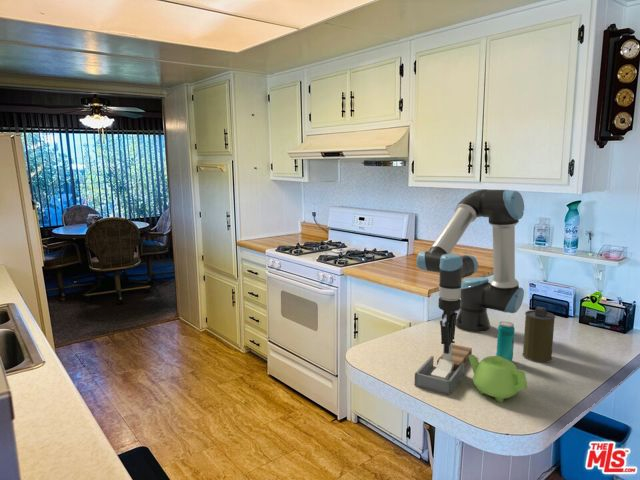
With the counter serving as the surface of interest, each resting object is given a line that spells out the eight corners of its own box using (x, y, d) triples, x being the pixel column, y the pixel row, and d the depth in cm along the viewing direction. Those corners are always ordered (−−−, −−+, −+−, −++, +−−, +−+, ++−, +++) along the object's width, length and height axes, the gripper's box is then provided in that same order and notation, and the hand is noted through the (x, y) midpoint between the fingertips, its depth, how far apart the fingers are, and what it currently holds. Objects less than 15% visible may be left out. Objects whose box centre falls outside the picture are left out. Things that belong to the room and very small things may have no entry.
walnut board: (451, 351, 180) (451, 344, 179) (471, 355, 175) (471, 348, 175) (436, 367, 165) (437, 360, 164) (458, 372, 160) (458, 365, 160)
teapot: (457, 387, 150) (458, 352, 148) (479, 376, 158) (481, 342, 156) (513, 412, 134) (516, 373, 132) (535, 398, 142) (538, 361, 140)
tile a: (440, 362, 163) (439, 358, 161) (454, 365, 160) (453, 361, 159) (436, 373, 159) (435, 369, 158) (450, 376, 157) (449, 372, 156)
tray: (431, 366, 165) (431, 355, 165) (463, 374, 159) (464, 363, 158) (414, 385, 151) (414, 373, 151) (449, 394, 145) (449, 382, 144)
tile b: (430, 374, 154) (430, 379, 154) (444, 377, 151) (444, 383, 152) (435, 368, 158) (435, 373, 159) (449, 372, 156) (448, 377, 156)
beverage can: (513, 365, 166) (516, 326, 164) (497, 363, 167) (499, 325, 165) (510, 358, 172) (512, 321, 170) (495, 357, 173) (497, 320, 171)
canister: (549, 365, 166) (553, 313, 163) (519, 358, 172) (522, 308, 169) (554, 355, 175) (558, 306, 171) (526, 349, 181) (529, 301, 178)
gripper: (444, 292, 165) (442, 352, 169) (433, 300, 154) (431, 364, 158) (465, 295, 161) (462, 356, 165) (454, 304, 150) (452, 369, 154)
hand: (447, 360), depth 161 cm, fingers closed
